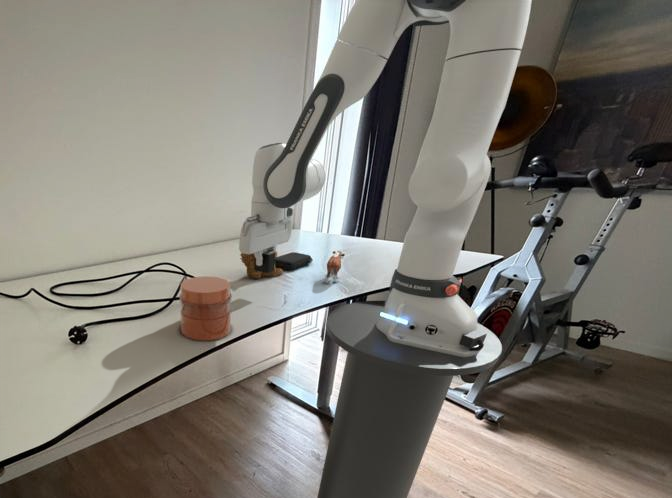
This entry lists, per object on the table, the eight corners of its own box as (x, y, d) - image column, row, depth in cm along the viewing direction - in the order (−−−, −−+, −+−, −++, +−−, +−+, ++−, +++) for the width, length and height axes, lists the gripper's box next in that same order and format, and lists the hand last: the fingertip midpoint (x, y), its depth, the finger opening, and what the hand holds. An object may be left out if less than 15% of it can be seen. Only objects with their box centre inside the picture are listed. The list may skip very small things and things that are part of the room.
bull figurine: (342, 273, 127) (347, 249, 123) (335, 286, 116) (340, 259, 112) (329, 272, 128) (333, 248, 124) (321, 284, 118) (325, 258, 114)
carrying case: (292, 272, 129) (316, 263, 137) (293, 264, 127) (317, 255, 136) (267, 266, 136) (291, 258, 144) (268, 258, 134) (292, 250, 143)
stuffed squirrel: (284, 273, 128) (288, 233, 122) (258, 283, 120) (261, 241, 114) (261, 267, 135) (263, 229, 128) (234, 277, 127) (236, 236, 120)
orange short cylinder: (241, 328, 92) (242, 283, 86) (207, 346, 85) (206, 297, 79) (204, 315, 100) (204, 272, 94) (170, 330, 92) (167, 285, 87)
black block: (274, 270, 109) (275, 250, 106) (268, 273, 107) (269, 252, 105) (259, 268, 112) (261, 248, 110) (253, 270, 111) (254, 250, 108)
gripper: (253, 219, 94) (251, 273, 101) (297, 208, 106) (292, 257, 113) (233, 217, 98) (233, 269, 105) (278, 206, 110) (275, 254, 117)
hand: (264, 263), depth 109 cm, fingers closed on black block, 3 cm apart
